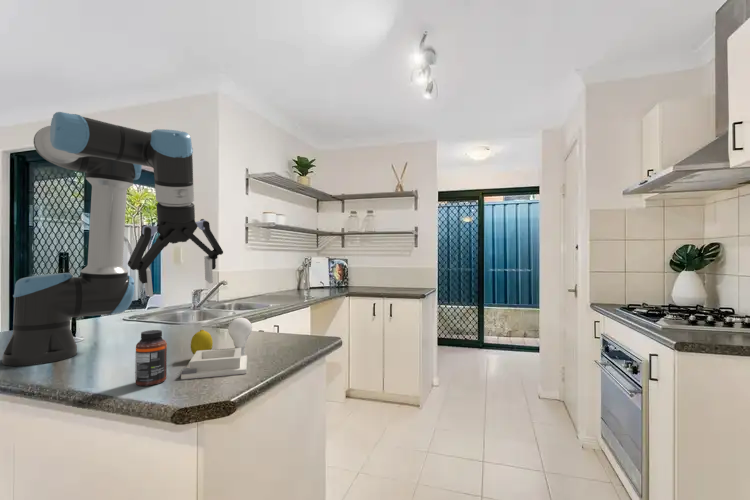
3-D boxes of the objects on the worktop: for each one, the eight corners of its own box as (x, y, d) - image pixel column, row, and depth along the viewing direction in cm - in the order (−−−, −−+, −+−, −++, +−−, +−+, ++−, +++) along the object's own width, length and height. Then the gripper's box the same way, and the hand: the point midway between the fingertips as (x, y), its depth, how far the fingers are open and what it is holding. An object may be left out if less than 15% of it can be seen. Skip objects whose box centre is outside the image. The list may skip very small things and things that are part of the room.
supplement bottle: (152, 376, 84) (153, 328, 85) (172, 379, 82) (173, 329, 83) (128, 385, 79) (129, 332, 79) (148, 388, 77) (150, 334, 77)
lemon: (195, 356, 103) (195, 328, 103) (215, 355, 103) (215, 327, 103) (186, 361, 97) (187, 331, 97) (208, 361, 98) (208, 331, 98)
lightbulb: (243, 360, 99) (244, 319, 99) (222, 358, 100) (223, 319, 100) (255, 354, 105) (256, 316, 105) (236, 353, 106) (236, 315, 106)
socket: (191, 363, 96) (191, 349, 96) (247, 358, 100) (247, 346, 100) (181, 379, 82) (181, 364, 82) (246, 373, 87) (246, 358, 87)
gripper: (113, 211, 70) (125, 307, 77) (236, 202, 88) (236, 281, 95) (103, 202, 75) (115, 293, 82) (222, 195, 92) (223, 271, 99)
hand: (180, 287), depth 88 cm, fingers open, 13 cm apart
